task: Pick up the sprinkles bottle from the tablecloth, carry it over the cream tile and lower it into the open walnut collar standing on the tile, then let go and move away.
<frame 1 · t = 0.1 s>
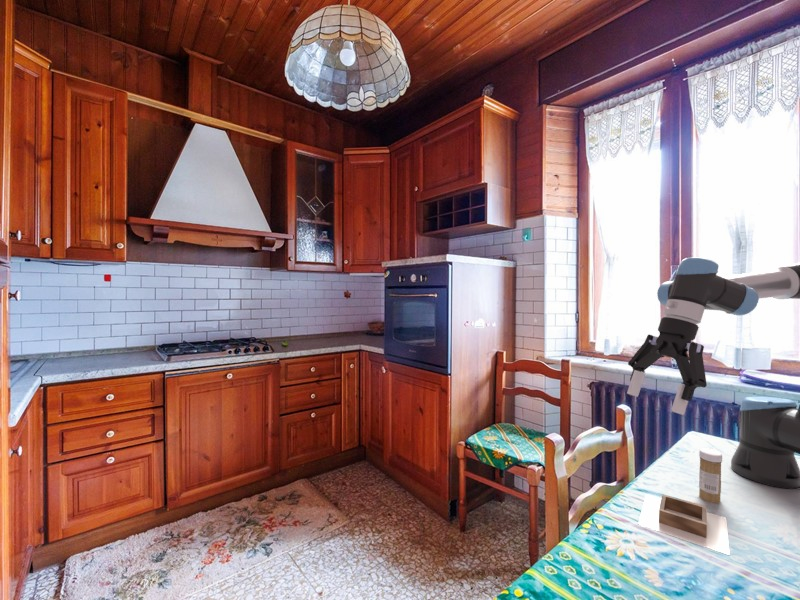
hand: (653, 403, 91), 28 cm above the table, tool tilted 20°, fingers open, 13 cm apart
collar: (682, 520, 88), resting on tile
sprinkles bottle: (709, 502, 97), on the table
tile: (682, 525, 88), on the table
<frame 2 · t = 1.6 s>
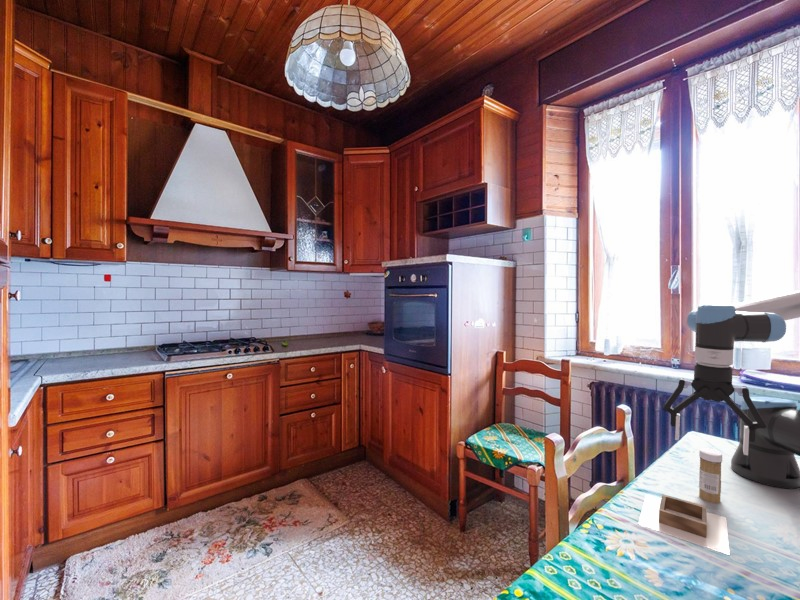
hand: (709, 445, 97), 15 cm above the table, tool pointing down, fingers open, 13 cm apart
nothing on the table moved.
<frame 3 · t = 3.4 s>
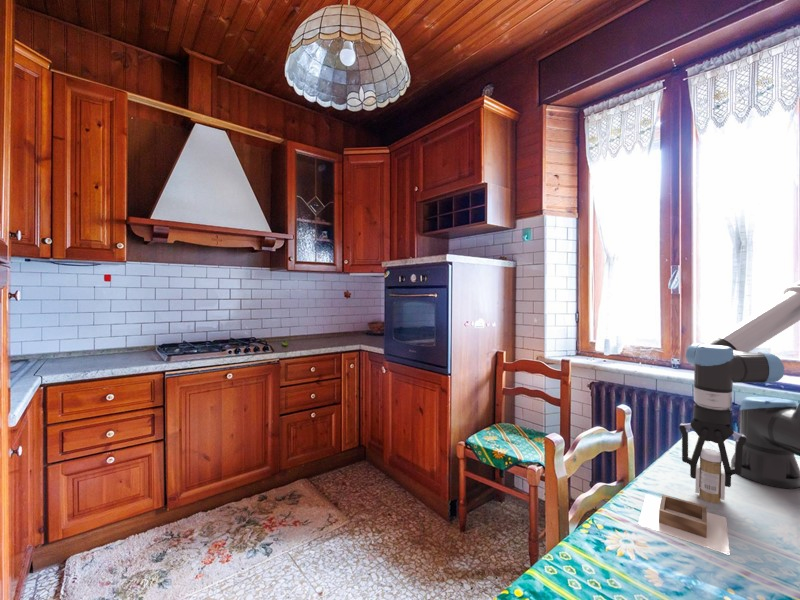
hand: (709, 493, 97), 2 cm above the table, tool pointing down, fingers closed on sprinkles bottle, 4 cm apart
sprinkles bottle: (709, 502, 97), on the table, touching gripper
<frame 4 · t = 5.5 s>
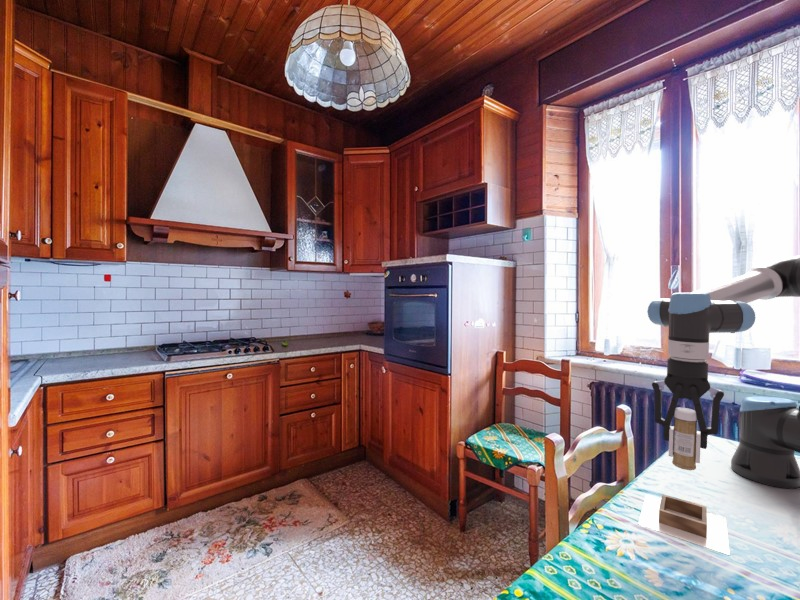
hand: (684, 457, 88), 16 cm above the table, tool pointing down, fingers closed on sprinkles bottle, 4 cm apart
sprinkles bottle: (683, 467, 88), point 14 cm above the table, touching gripper
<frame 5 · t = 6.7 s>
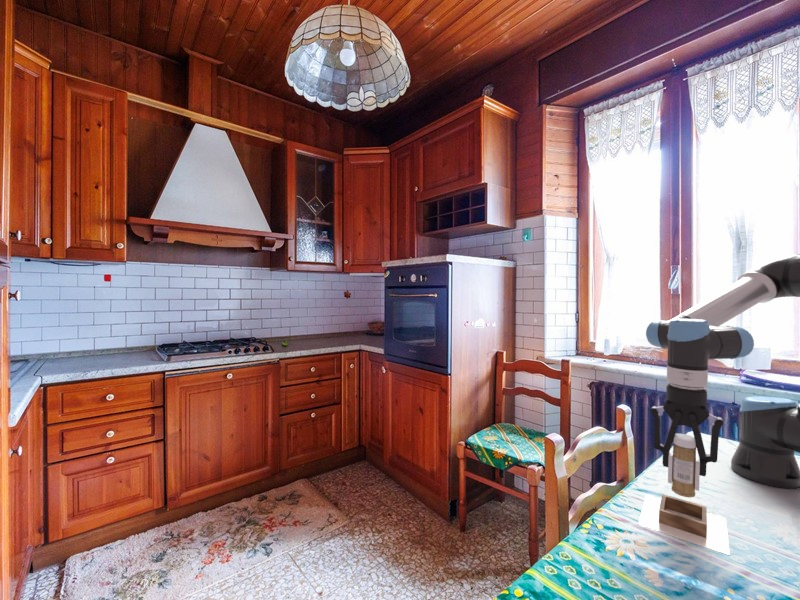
hand: (683, 483, 88), 10 cm above the table, tool pointing down, fingers closed on sprinkles bottle, 4 cm apart
sprinkles bottle: (682, 493, 88), point 8 cm above the table, touching gripper
when the fingers open (5 cm above the table, at t = 7.8 s): sprinkles bottle drops 2 cm, resting on tile.
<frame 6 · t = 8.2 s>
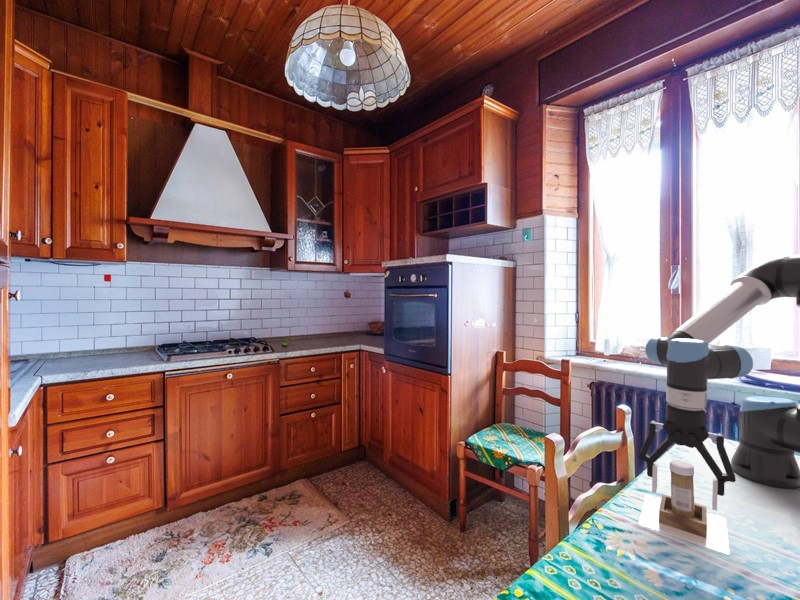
hand: (683, 498, 88), 6 cm above the table, tool pointing down, fingers open, 10 cm apart
sprinkles bottle: (682, 521, 88), point 1 cm above the table, touching tile
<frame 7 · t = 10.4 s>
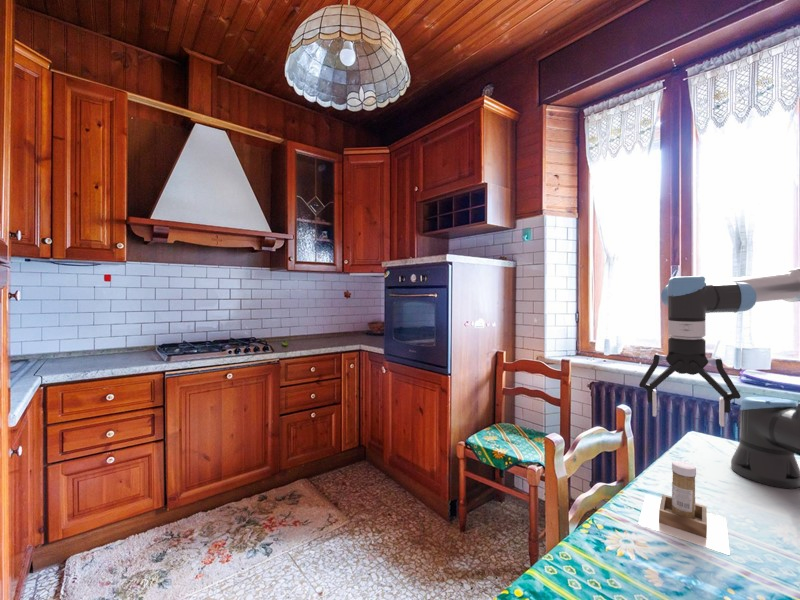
hand: (686, 419, 96), 22 cm above the table, tool pointing down, fingers open, 13 cm apart
nothing on the table moved.
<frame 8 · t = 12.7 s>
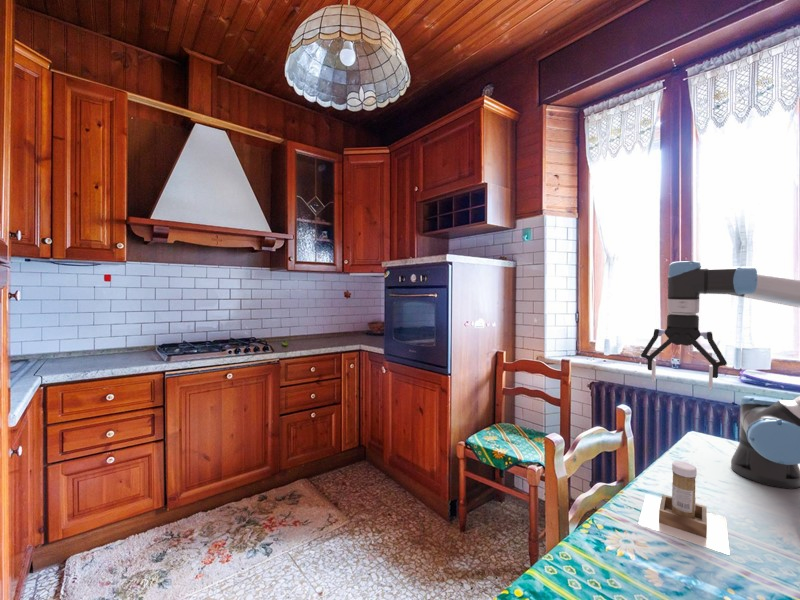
hand: (680, 384, 111), 27 cm above the table, tool pointing down, fingers open, 13 cm apart
nothing on the table moved.
at the end: sprinkles bottle 0.0 cm off-centre on the collar, point 0.0 cm above the collar's base; sprinkles bottle tilted 0°; the gripper is holding nothing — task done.
